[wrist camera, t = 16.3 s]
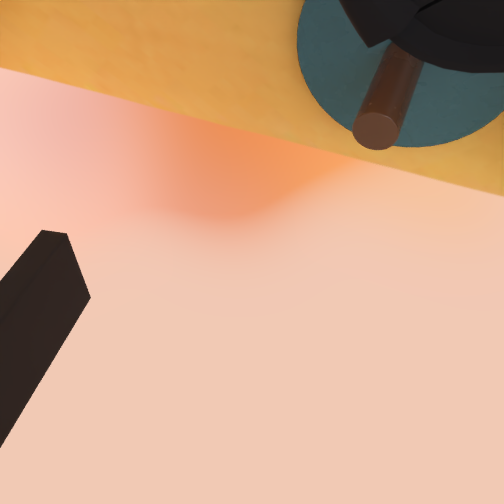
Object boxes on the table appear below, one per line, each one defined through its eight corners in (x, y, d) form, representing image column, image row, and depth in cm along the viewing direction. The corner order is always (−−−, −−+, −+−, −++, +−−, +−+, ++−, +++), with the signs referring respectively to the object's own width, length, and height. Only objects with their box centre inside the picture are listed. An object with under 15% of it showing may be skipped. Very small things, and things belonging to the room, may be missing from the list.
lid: (306, 122, 39) (267, 196, 34) (296, -83, 27) (236, -11, 23) (497, 151, 34) (481, 242, 29) (584, -82, 22) (579, 9, 18)
